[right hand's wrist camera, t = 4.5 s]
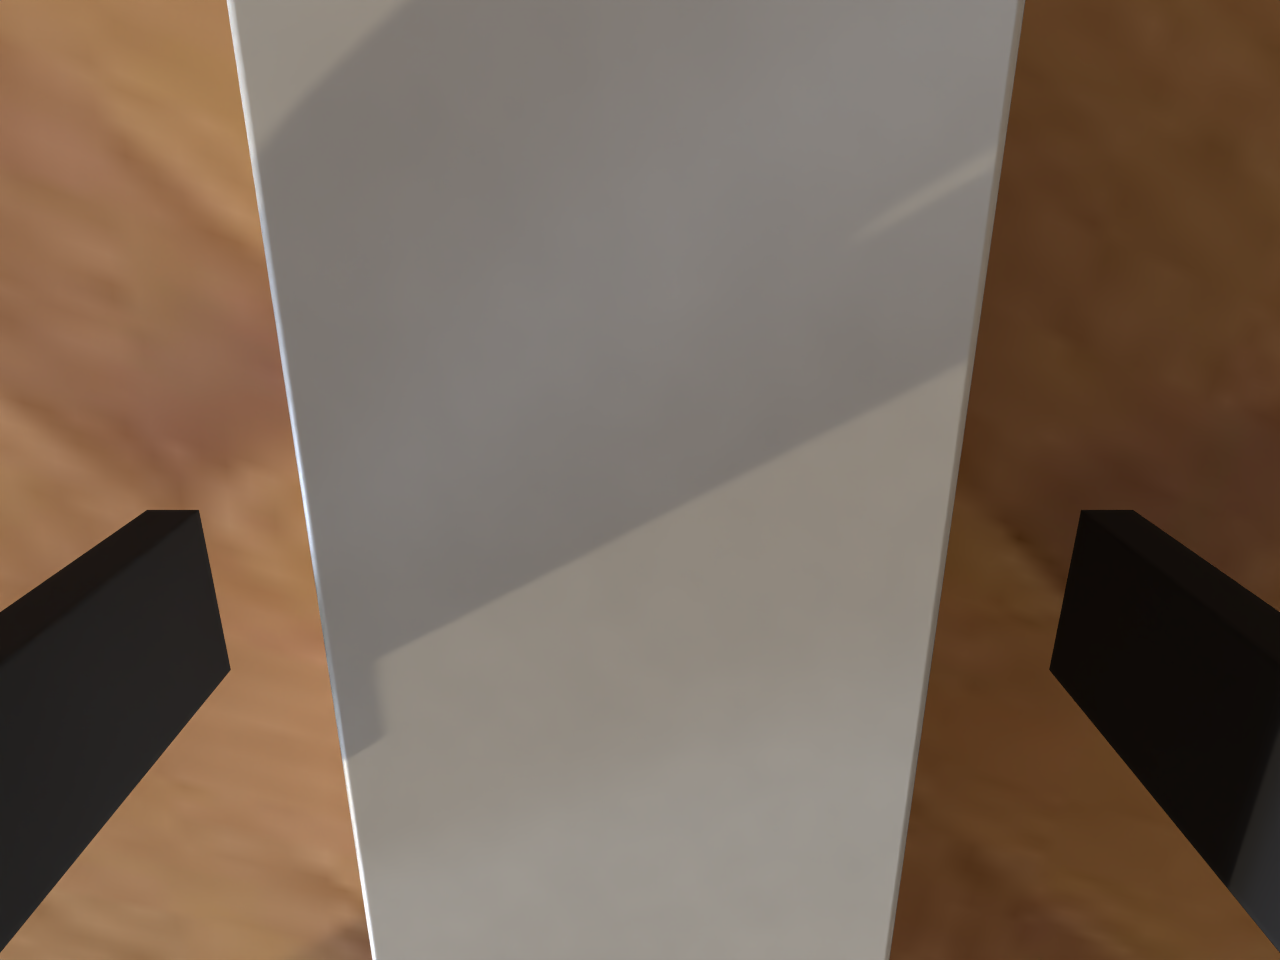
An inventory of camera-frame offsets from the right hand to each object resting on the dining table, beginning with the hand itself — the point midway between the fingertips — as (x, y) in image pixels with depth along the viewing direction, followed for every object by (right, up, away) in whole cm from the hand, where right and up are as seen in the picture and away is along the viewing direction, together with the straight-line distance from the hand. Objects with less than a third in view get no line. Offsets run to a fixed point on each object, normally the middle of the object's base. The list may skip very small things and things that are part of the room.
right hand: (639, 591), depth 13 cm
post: (0, -18, +10) cm, 20 cm away
